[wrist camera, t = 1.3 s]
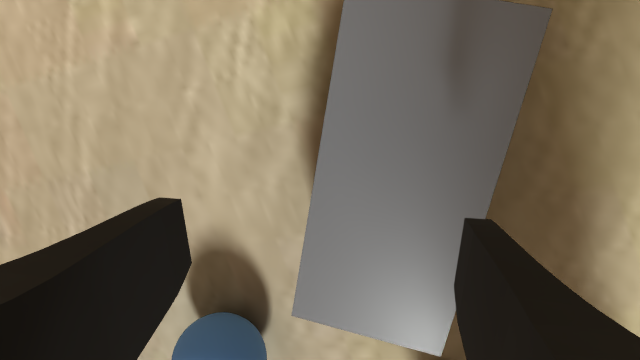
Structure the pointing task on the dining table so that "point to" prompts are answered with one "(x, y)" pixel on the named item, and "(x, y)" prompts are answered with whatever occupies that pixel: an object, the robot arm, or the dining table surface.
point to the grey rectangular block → (410, 159)
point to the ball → (220, 339)
